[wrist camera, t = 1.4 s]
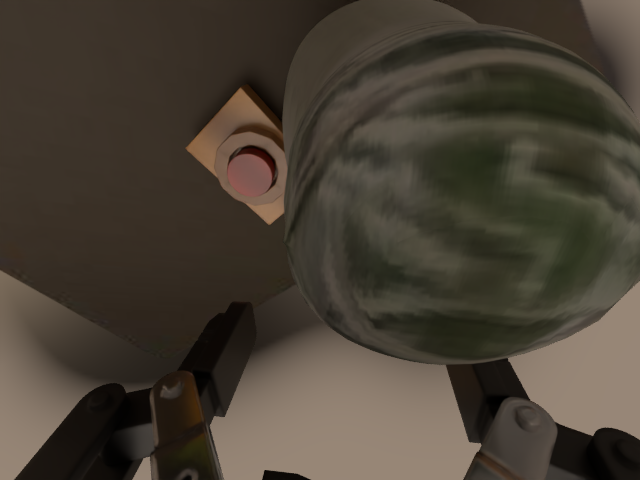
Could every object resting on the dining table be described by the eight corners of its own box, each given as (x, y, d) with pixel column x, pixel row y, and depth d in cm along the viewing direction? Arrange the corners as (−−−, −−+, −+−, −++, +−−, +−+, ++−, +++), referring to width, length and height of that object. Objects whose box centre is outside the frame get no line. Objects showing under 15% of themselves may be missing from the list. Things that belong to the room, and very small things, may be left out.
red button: (255, 197, 30) (251, 205, 29) (223, 167, 28) (217, 173, 27) (283, 171, 29) (281, 178, 27) (252, 138, 27) (247, 143, 25)
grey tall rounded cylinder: (417, 17, 25) (1611, -338, 2) (403, 142, 31) (651, 459, 7) (298, 22, 26) (-12, -221, 2) (305, 145, 31) (240, 457, 8)
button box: (272, 213, 36) (266, 234, 32) (195, 141, 31) (177, 154, 27) (325, 170, 33) (324, 186, 29) (247, 83, 28) (235, 89, 24)
